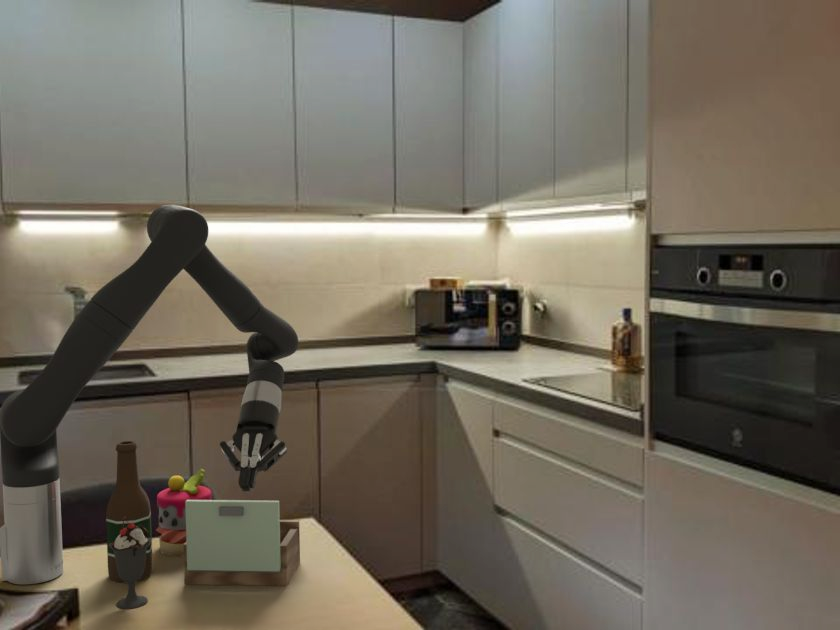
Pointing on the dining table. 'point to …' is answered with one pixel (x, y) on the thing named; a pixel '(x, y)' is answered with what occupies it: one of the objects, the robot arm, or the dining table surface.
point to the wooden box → (288, 567)
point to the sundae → (131, 561)
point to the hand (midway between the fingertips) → (245, 489)
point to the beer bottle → (127, 506)
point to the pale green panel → (233, 536)
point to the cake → (177, 511)
